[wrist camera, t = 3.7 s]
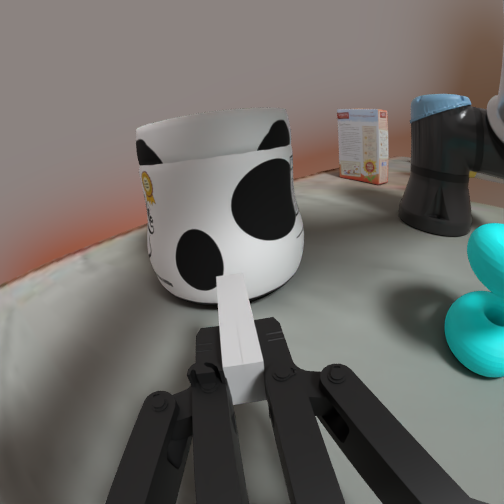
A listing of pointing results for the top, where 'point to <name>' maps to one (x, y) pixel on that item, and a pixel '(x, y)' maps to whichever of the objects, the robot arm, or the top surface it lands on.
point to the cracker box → (363, 145)
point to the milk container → (220, 201)
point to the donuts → (481, 307)
